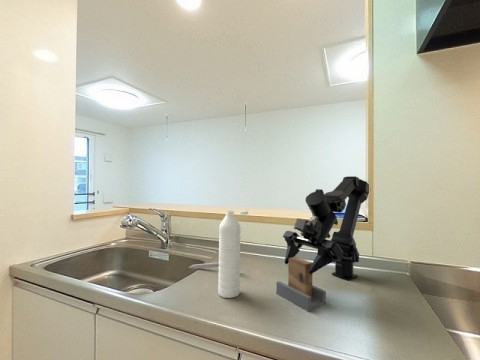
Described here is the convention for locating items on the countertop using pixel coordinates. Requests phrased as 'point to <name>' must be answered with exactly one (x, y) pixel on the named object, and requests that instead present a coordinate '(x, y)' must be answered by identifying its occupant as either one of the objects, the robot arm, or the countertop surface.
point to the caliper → (204, 265)
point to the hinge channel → (302, 296)
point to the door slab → (300, 275)
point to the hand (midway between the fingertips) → (296, 268)
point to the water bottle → (229, 256)
